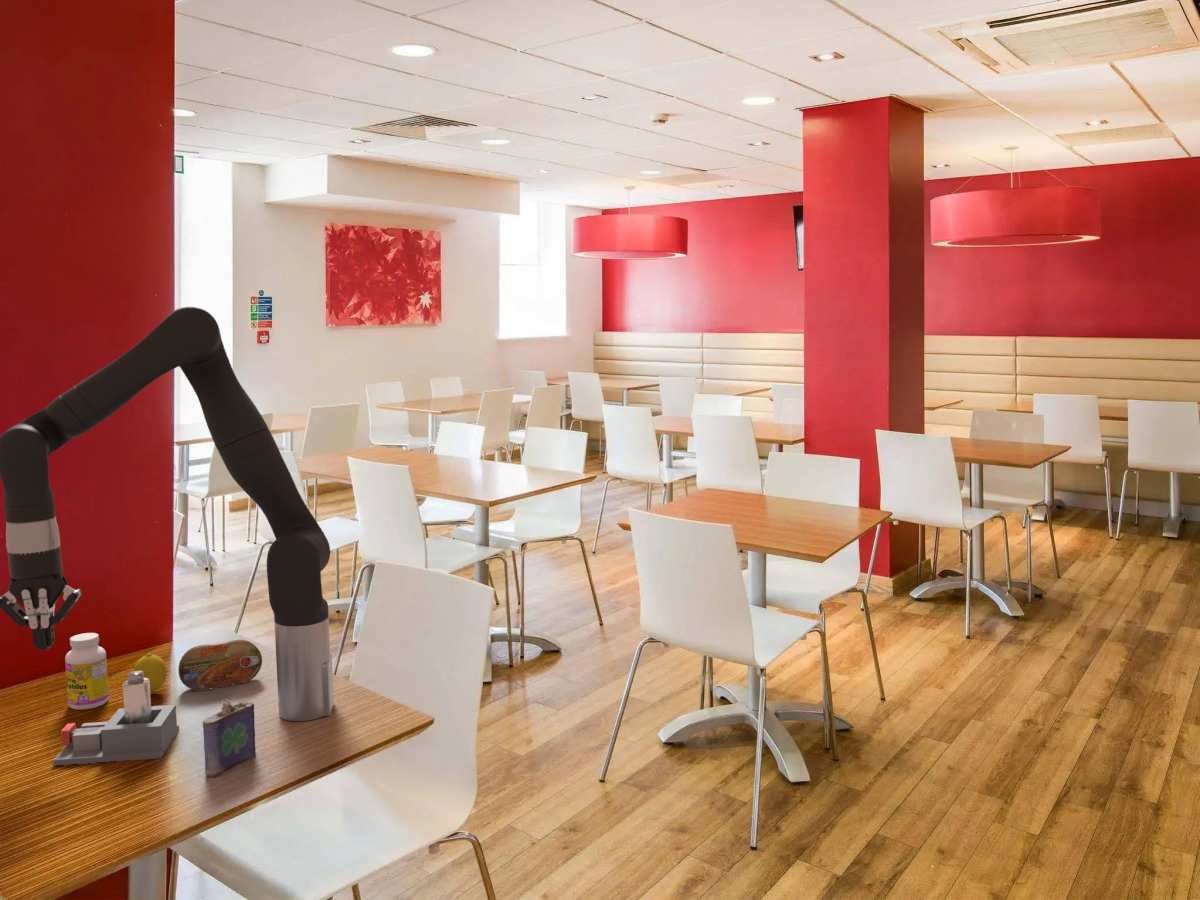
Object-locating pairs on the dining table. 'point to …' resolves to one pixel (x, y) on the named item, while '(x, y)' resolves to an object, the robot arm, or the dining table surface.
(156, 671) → the lemon
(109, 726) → the mount
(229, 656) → the tin
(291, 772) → the dining table surface
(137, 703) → the salt shaker
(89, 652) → the supplement bottle
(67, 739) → the lock pin
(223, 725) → the flask
